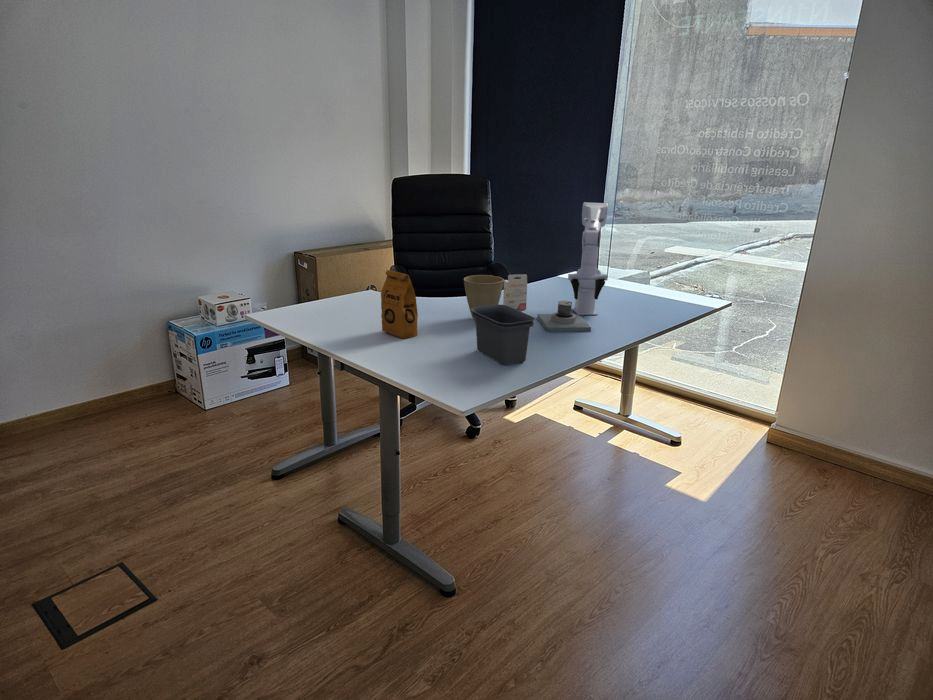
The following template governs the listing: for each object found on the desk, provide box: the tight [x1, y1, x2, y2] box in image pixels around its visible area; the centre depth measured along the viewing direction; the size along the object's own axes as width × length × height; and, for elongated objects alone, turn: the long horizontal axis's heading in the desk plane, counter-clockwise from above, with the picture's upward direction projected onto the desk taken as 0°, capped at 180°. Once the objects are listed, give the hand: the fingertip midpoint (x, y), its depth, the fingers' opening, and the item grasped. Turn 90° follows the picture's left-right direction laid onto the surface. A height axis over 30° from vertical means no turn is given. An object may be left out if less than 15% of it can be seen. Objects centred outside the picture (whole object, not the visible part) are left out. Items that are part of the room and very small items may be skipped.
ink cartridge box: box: [502, 273, 528, 311], centre depth 243 cm, size 9×5×15 cm, turn 105°
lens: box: [557, 300, 573, 318], centre depth 224 cm, size 5×5×7 cm
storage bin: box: [471, 304, 536, 366], centre depth 189 cm, size 21×16×14 cm
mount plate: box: [537, 311, 592, 332], centre depth 226 cm, size 18×16×4 cm
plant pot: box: [463, 274, 505, 322], centre depth 226 cm, size 15×15×16 cm
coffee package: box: [380, 269, 419, 340], centre depth 207 cm, size 10×12×22 cm
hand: (585, 298), depth 226 cm, fingers open, 7 cm apart
